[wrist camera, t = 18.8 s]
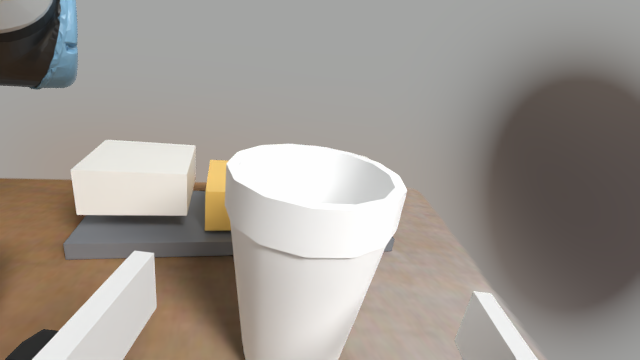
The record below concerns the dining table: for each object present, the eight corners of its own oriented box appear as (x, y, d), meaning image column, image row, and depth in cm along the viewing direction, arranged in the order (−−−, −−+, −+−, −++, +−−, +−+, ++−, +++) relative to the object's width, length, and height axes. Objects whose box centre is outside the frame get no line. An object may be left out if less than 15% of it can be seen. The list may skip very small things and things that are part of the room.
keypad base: (65, 259, 27) (63, 244, 27) (108, 200, 37) (107, 188, 36) (391, 250, 36) (394, 239, 35) (356, 204, 45) (358, 195, 45)
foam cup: (210, 428, 17) (217, 204, 12) (224, 300, 25) (231, 138, 21) (380, 411, 19) (441, 214, 15) (341, 298, 28) (372, 151, 23)
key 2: (76, 214, 27) (70, 169, 26) (109, 176, 35) (106, 139, 33) (187, 215, 30) (186, 174, 28) (195, 179, 37) (195, 145, 36)
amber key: (204, 230, 31) (205, 191, 29) (209, 192, 38) (210, 159, 37) (294, 230, 33) (299, 193, 32) (282, 194, 41) (285, 163, 39)
